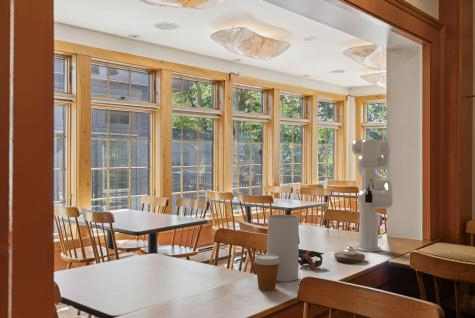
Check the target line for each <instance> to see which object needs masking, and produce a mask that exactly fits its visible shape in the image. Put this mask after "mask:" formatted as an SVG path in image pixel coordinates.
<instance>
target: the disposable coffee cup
mask: <svg viewBox="0 0 475 318" xmlns="http://www.w3.org/2000/svg"><path fill="white" fill-rule="evenodd" d="M253 260H254V262H255V269H256V270H255V271H256V277H257V278H256V279H257V286H258V290H260V291H264V292H272V291H275V290H276V285H277V281H276V279H277V272H278V264H279V262H280V260H279V257H278V256H277V255H272V254H267V253H262V254H257V255H255V258H254V259H253Z"/></svg>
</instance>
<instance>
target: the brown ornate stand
mask: <svg viewBox="0 0 475 318" xmlns="http://www.w3.org/2000/svg"><path fill="white" fill-rule="evenodd" d="M314 255H315V257H316V258H318V259H319V260H314V261H313V258H311V257H313V256H314ZM299 258H300V259H299ZM323 260H324V259H323V256H322V254H321V253H319V252H317V251H314V250H308V251H307V252H306V253H305V254H301V253H298V265H299V266H301V267H302V266H304V265H309V266H310V267H309V270H311V271H314V269H316V268H318V267H321V266H322V265H323Z"/></svg>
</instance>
